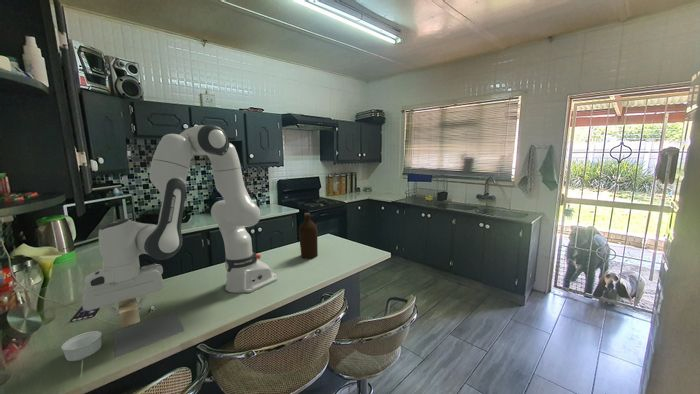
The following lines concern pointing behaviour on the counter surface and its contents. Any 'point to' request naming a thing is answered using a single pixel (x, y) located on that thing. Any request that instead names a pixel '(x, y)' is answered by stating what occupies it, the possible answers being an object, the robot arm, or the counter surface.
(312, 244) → the olive oil
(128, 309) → the birch block
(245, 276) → the robot arm
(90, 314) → the smartphone
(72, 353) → the ramekin
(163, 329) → the rubber mat
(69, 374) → the counter surface
